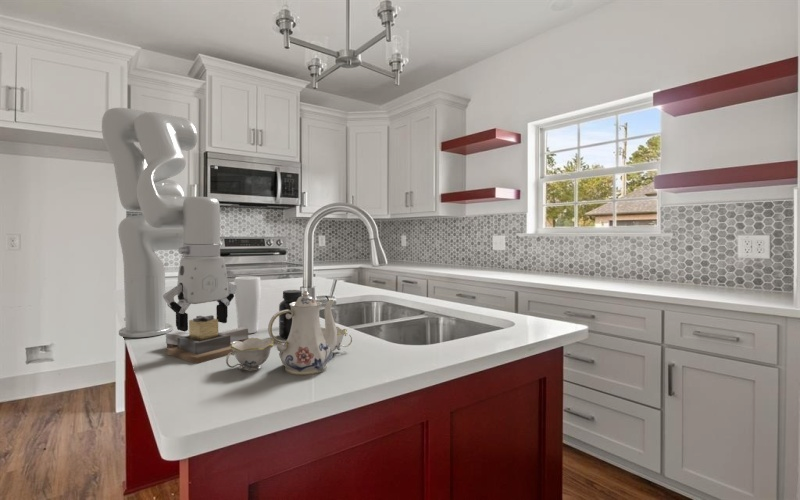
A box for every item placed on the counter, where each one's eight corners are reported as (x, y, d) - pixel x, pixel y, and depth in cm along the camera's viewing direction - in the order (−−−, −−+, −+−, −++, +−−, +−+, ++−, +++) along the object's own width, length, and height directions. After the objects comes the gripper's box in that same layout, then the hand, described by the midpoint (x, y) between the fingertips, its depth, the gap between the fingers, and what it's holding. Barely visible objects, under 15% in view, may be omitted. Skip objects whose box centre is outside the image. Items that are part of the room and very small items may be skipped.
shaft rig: (154, 350, 102) (154, 334, 101) (218, 335, 115) (218, 321, 115) (197, 363, 92) (196, 346, 92) (260, 345, 106) (260, 330, 106)
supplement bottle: (273, 337, 114) (273, 292, 113) (288, 331, 120) (288, 288, 119) (296, 340, 111) (296, 293, 111) (310, 334, 118) (310, 289, 117)
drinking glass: (253, 335, 116) (252, 279, 115) (229, 334, 117) (229, 278, 116) (265, 329, 122) (265, 276, 121) (243, 328, 124) (243, 275, 123)
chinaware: (332, 351, 108) (328, 284, 108) (376, 359, 96) (371, 283, 96) (218, 378, 88) (213, 296, 89) (256, 392, 76) (250, 297, 77)
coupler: (189, 348, 100) (189, 317, 99) (207, 343, 103) (207, 314, 103) (200, 351, 97) (200, 320, 97) (218, 346, 101) (218, 316, 100)
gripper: (173, 254, 90) (174, 336, 91) (245, 250, 104) (245, 321, 105) (154, 252, 94) (155, 331, 95) (225, 249, 108) (226, 317, 109)
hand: (202, 326), depth 100 cm, fingers open, 9 cm apart
